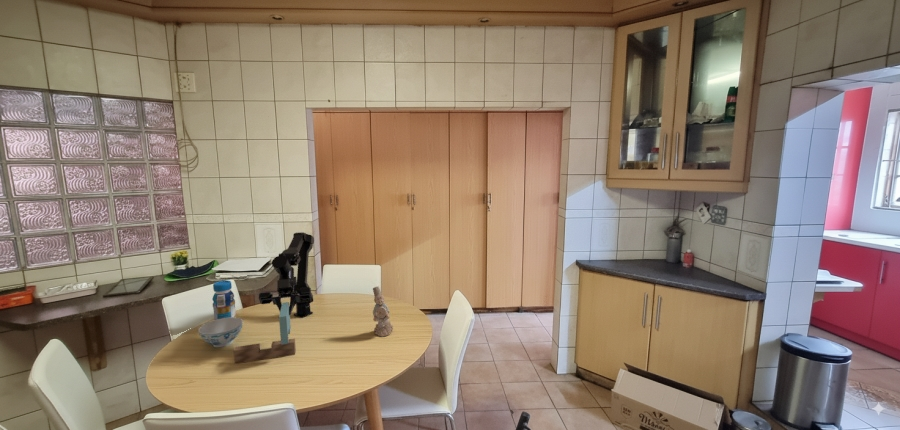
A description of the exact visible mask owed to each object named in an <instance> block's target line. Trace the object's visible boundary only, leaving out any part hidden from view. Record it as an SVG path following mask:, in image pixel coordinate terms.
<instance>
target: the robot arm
mask: <svg viewBox="0 0 900 430" xmlns="http://www.w3.org/2000/svg"><path fill="white" fill-rule="evenodd" d="M314 243H315V237H314V236H313V235H312V234H309V233H306V232H302V231H301V232H294V233H293V237H292V239H291V241H290V244H289V245H288V248H286V249H284V250H282V252H281V253H278V256H274V258H273V259H272V261H271V266H272V267H273V269H274V270H275V272H276V274H278V279H277V281H276V287H277V288H276V291H277V292H276V293H274V292H273V293H272V292H271V290H269V291H261V292H259V293H258V300H259V303H260V304H261V305H266V304H267V305H268V304H271V303H272V305H274V306H275V305H276V306H277V309H278V311H279V312H280V310H281V306H282V303H283V302H282V300H281V299H286V298H290V299H289V300H290V301H289V316H290V317H291V314H292V312H293V310H294V308H295V310H296V312H294V313H293V316H296V317H297V318H298V317H299V318H301V319H302V318H303V319H304V318H305V317H308V316H310V315H312V314H314V312H313V311H311V305H310V304H311V303H313V302H314V295H313V293H312V289H311V287H310V285H309V284H308V273H309V271H308V269H309V257H310V256H309V255H310V252H311V250H313V247H314ZM296 266H297V273H296V276H295V268H294V267H296Z"/></svg>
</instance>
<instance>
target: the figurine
mask: <svg viewBox="0 0 900 430" xmlns="http://www.w3.org/2000/svg"><path fill="white" fill-rule="evenodd" d="M372 291H373V295H374V298H373V301H374V303H375V305H374V307H373V309H372V316H373V321H374V322H377V323H376V324H375V327H374V329H373V331H375V335H377V336H379V337H386V336H389V335H390V334H391V333H392V332H393V330H394V325H392V323H391V321H390V317H391V316H390V309H389V307H388V305H387V302H385V296H384V295H383V293H382V292H381V288H380V287H379V285H378V286H375V287H373V288H372Z"/></svg>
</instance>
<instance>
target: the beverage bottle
mask: <svg viewBox="0 0 900 430" xmlns="http://www.w3.org/2000/svg"><path fill="white" fill-rule="evenodd" d="M212 285H213V287H212V289H213V292H214V294H213V296H212V301H213V303H212V308H213V309H212V310H213V317H214V320H217V319H222V318H229V317H236V318H237V316H236V300H235V294H234V292H233V291H232V286H233V285H232V281H231V280H220V281H217V282H214V283H213V284H212Z"/></svg>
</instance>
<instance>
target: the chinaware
mask: <svg viewBox="0 0 900 430" xmlns="http://www.w3.org/2000/svg"><path fill="white" fill-rule="evenodd" d="M243 324H244V320H243V319H242V318H241V317H237V316H236V317H229V318H222V319H217V320H215V319H214V320H212V321H211V320H210V321H208V322H206V323H204V324H202V325H201V326H200V327H198V333H199V335H200V338H201V339H202V340H203V341H204V342H206V343H207V344H209V345H212V346H213V347H214V348H222V347H226V346H229V345H231V344H232V343H233V341H234V340H235V339H236V338H237V337H238V336H239V334H240V333H241V330H242V329H243Z"/></svg>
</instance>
